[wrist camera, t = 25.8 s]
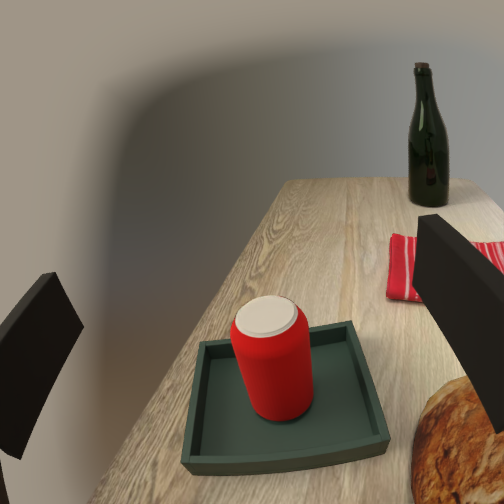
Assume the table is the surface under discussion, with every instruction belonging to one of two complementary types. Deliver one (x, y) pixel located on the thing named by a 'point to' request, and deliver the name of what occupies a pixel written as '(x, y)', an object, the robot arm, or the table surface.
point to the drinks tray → (291, 431)
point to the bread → (457, 450)
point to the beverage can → (274, 356)
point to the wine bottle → (427, 145)
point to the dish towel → (404, 260)
